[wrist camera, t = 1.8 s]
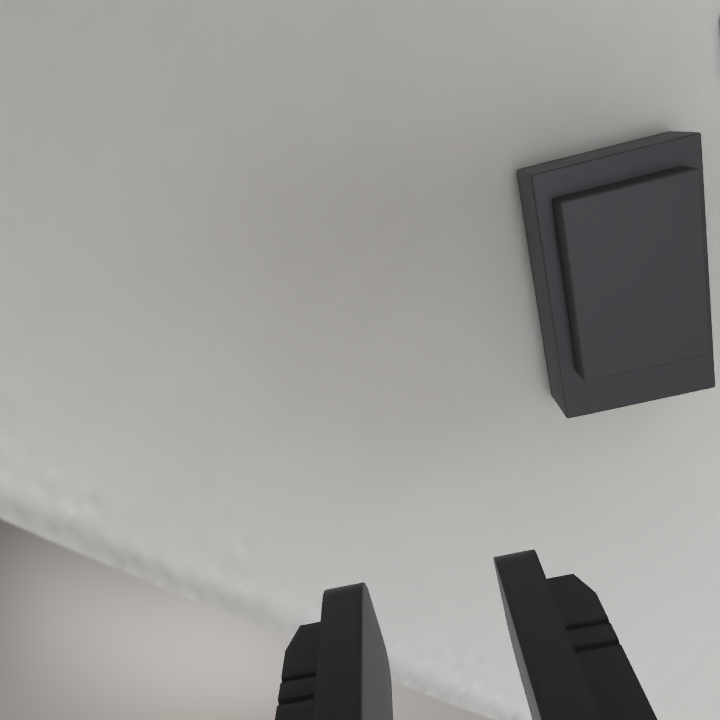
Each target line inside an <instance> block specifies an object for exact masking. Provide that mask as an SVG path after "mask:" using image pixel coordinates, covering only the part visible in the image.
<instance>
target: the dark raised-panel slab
mask: <svg viewBox="0 0 720 720" xmlns="http://www.w3.org/2000/svg"><path fill="white" fill-rule="evenodd" d="M517 177H518V184H519V190H520V196H521V203H522V209H523V216H524V222H525V228H526V235H527V241H528V248H529V254H530V261H531V267H532V273H533V280H534V286H535V293H536V299H537V305H538V312H539V318H540V325H541V331H542V337H543V344H544V350H545V357H546V363H547V370H548V376H549V382H550V389H551V395H552V396H553V398H554V399H555V401H556V402H557V404H558V405H559V407H560V408H561V410H562V411H563V413H564V414H565V416H566V417H567V418H572V417H577V416H582V415H586V414H591V413H596V412H600V411H605V410H610V409H614V408H619V407H624V406H628V405H633V404H638V403H642V402H647V401H652V400H656V399H661V398H666V397H670V396H675V395H680V394H684V393H689V392H694V391H698V390H703V389H708V388H712V387H715V377H714V360H713V342H712V324H711V307H710V289H709V271H708V254H707V236H706V218H705V201H704V183H703V165H702V148H701V134H700V133H698V132H673V131H669V132H665V133H661V134H657V135H653V136H649V137H645V138H641V139H637V140H633V141H630V142H626V143H622V144H618V145H614V146H610V147H606V148H602V149H598V150H594V151H590V152H586V153H582V154H578V155H574V156H570V157H566V158H562V159H558V160H554V161H550V162H546V163H542V164H539V165H535V166H531V167H527V168H523V169H519V170H517Z"/></svg>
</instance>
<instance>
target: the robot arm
mask: <svg viewBox="0 0 720 720" xmlns="http://www.w3.org/2000/svg"><path fill="white" fill-rule="evenodd" d="M494 563H495V568H496V573H497V578H498V582H499V587H500V592H501V597H502V601H503V606H504V611H505V615H506V620H507V625H508V629H509V634H510V638H511V642H512V646H513V650H514V654H515V658H516V661H517V665H518V669H519V672H520V676H521V679H522V683H523V687H524V690H525V694H526V697H527V701H528V705H529V708H530V712H531V715H532V719H533V720H657V718H656V716H655V714H654V712H653V710H652V708H651V706H650V704H649V701H648V699H647V697H646V695H645V693H644V691H643V689H642V687H641V685H640V683H639V681H638V679H637V677H636V675H635V673H634V671H633V668H632V666H631V664H630V662H629V660H628V658H627V656H626V654H625V652H624V650H623V648H622V646H621V645H620V643H619V640H618V638H617V635H616V633H615V631H614V629H613V627H612V625H611V623H609V620H608V617H607V615H606V613H605V611H604V609H603V607H602V605H601V603H600V600H599V598H598V596H597V594H596V593H595V592H594V591H593V590H592V589H591V588H589V587H588V586H587V585H586V584H585V583H583V582H582V581H581V580H580V579H579V578H577V577H576V576H575V575H574V574H570V575H565V576H559V577H554V578H549V579H546V577H545V574H544V572H543V569H542V566H541V564H540V561H539V559H538V556H537V554H536V552H535V550H528V551H523V552H518V553H513V554H508V555H503V556H498V557H494ZM278 702H279V706H277V711H276V717H275V720H393V708H392V687H391V675H390V667H389V661H388V656H387V652H386V648H385V644H384V641H383V637H382V634H381V631H380V627H379V624H378V621H377V618H376V614H375V611H374V608H373V604H372V601H371V598H370V594H369V591H368V588H367V586H366V584H365V583H359V584H353V585H348V586H343V587H338V588H333V589H328V590H325V591H324V594H323V602H322V613H321V622H317V623H312V624H307V625H301V626H300V627H299V629H298V630H297V632H296V634H295V636H294V637H293V639H292V641H291V642H290V644H289V646H288V648H287V649H286V651H285V658H284V664H283V671H282V683H281V685H280V691H279V697H278Z"/></svg>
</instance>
